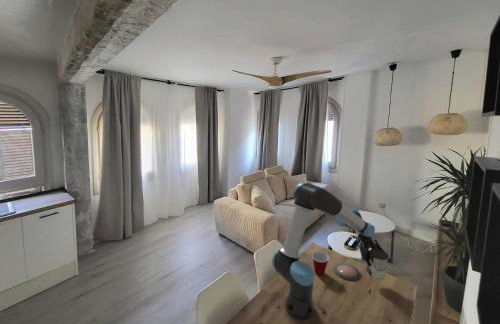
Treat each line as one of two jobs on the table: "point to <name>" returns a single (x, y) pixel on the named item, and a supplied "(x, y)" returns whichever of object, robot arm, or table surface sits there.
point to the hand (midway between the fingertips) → (380, 270)
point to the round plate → (346, 271)
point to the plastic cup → (320, 262)
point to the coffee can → (377, 264)
